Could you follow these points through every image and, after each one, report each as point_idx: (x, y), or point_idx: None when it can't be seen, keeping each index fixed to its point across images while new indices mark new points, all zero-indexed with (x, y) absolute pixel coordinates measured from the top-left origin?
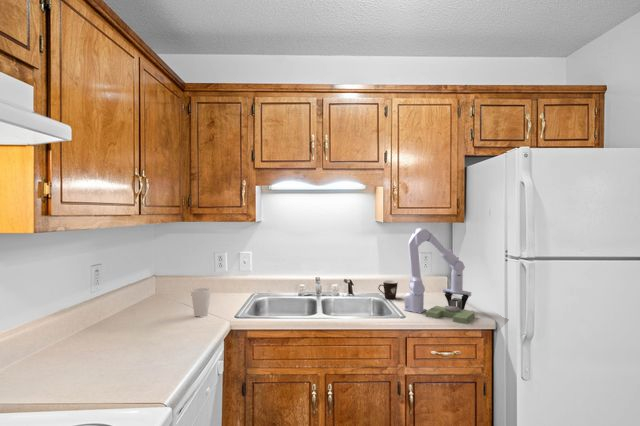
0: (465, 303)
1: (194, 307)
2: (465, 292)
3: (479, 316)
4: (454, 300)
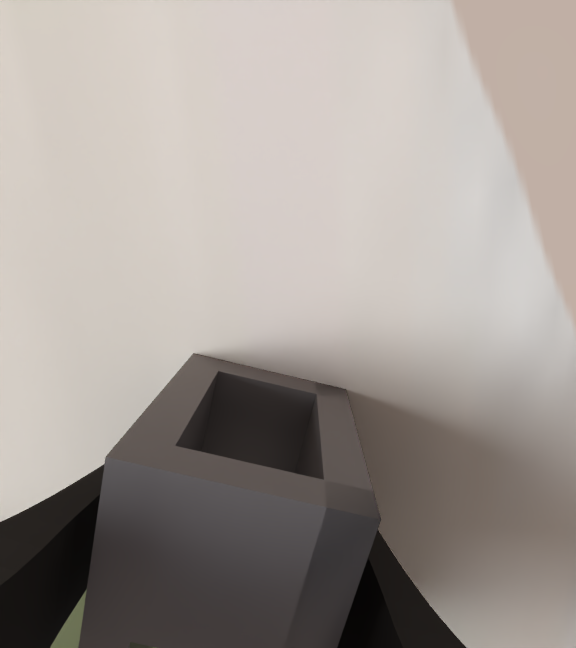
0: (408, 592)
1: None
2: None
3: (562, 625)
4: (155, 624)
